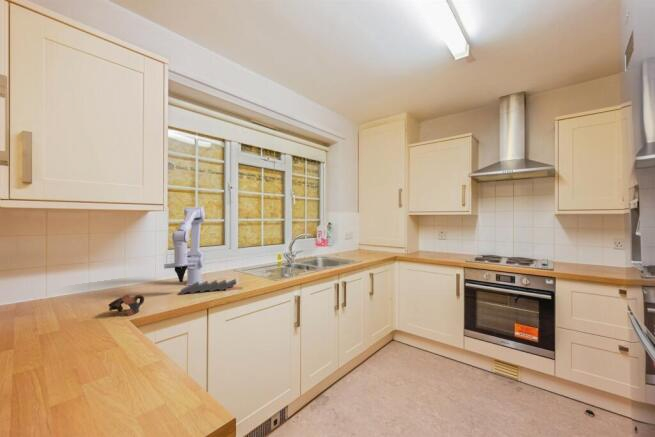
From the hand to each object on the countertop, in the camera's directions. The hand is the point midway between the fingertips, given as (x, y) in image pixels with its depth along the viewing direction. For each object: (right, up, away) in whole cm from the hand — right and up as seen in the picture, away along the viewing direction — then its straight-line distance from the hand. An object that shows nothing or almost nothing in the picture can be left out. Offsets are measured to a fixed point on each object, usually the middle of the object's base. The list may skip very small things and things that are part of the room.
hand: (181, 281), depth 140 cm
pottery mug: (-8, -7, -27) cm, 29 cm away
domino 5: (+17, -5, +7) cm, 19 cm away
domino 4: (+12, -5, +5) cm, 14 cm away
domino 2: (+4, -5, +2) cm, 7 cm away
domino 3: (+8, -5, +3) cm, 10 cm away
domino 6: (+20, -6, +8) cm, 22 cm away
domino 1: (0, -5, 0) cm, 5 cm away
